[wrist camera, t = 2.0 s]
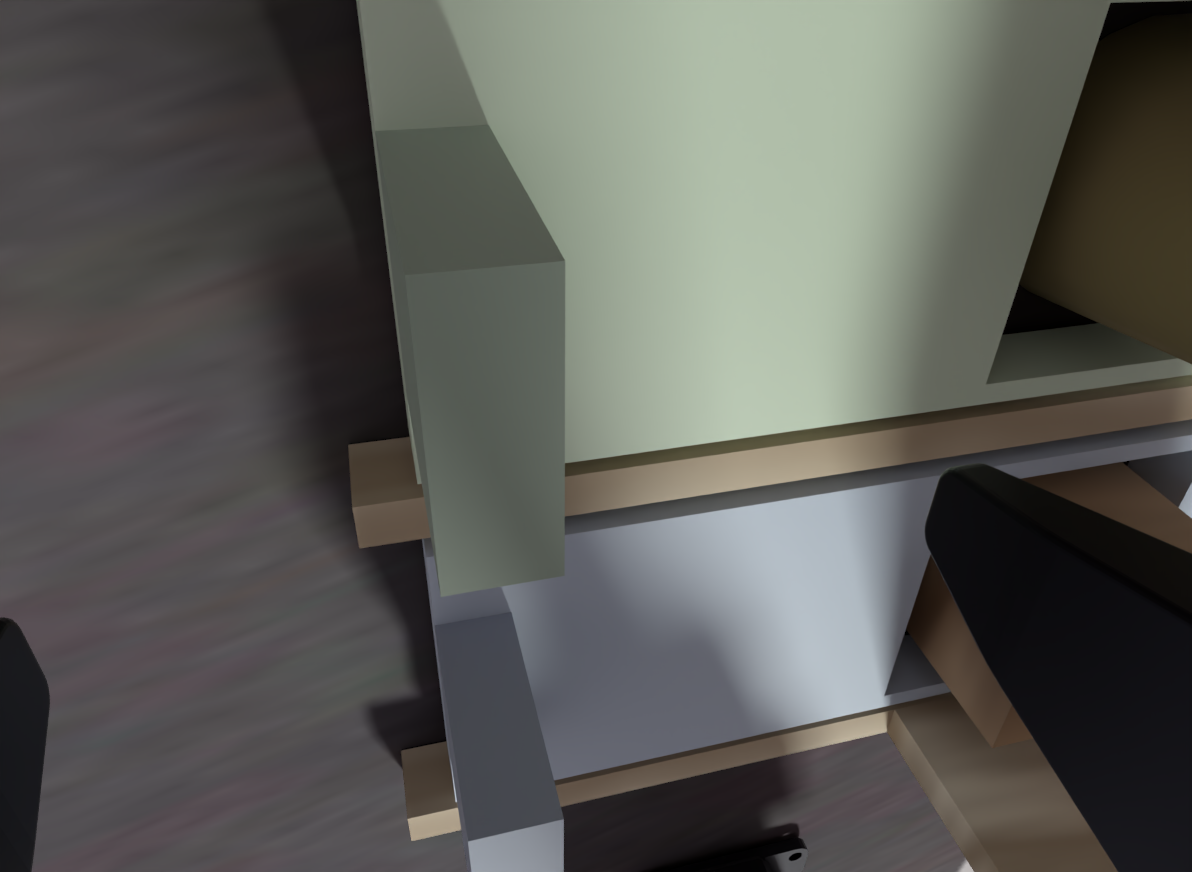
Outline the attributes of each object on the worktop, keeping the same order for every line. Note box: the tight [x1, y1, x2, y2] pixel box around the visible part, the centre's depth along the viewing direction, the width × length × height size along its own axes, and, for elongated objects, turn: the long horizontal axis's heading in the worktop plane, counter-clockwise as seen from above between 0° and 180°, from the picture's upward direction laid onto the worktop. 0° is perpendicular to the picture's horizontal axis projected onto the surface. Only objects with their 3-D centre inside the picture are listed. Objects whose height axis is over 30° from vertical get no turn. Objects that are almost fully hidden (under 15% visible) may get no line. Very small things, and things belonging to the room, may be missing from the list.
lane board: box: [348, 375, 1192, 872], centre depth 15 cm, size 21×22×14 cm
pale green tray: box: [356, 0, 1192, 597], centre depth 15 cm, size 8×20×7 cm, turn 88°
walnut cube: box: [906, 462, 1192, 748], centre depth 23 cm, size 5×5×5 cm
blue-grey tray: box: [422, 419, 1192, 872], centre depth 20 cm, size 8×20×7 cm, turn 88°
